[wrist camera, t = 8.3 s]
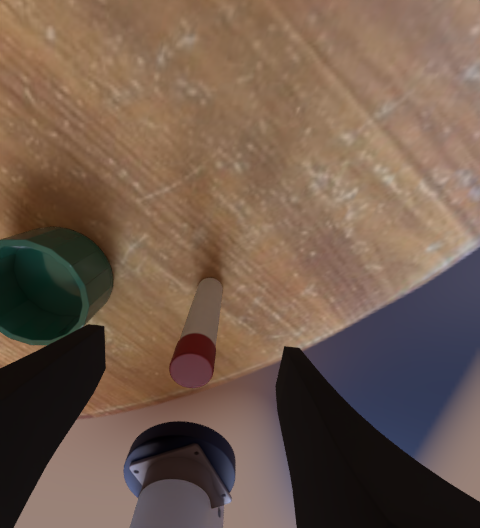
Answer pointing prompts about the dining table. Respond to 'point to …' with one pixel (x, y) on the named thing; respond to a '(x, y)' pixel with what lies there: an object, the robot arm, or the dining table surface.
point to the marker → (198, 337)
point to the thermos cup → (50, 284)
